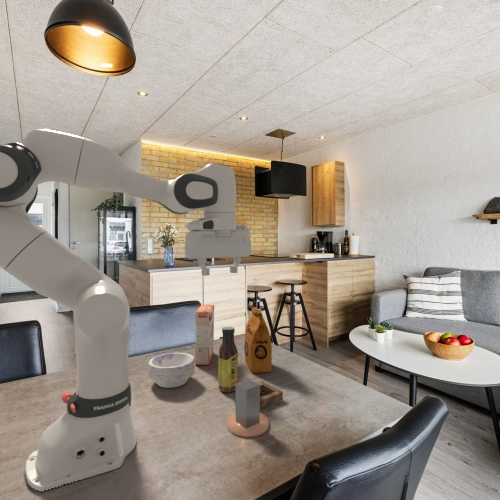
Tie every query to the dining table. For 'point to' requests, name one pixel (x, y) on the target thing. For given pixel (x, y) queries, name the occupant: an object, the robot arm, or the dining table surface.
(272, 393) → the socket block
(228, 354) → the sauce bottle
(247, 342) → the coffee package
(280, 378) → the dining table surface
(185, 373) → the paper bowls
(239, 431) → the peach domed puck
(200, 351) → the cracker box
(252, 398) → the steel peg
